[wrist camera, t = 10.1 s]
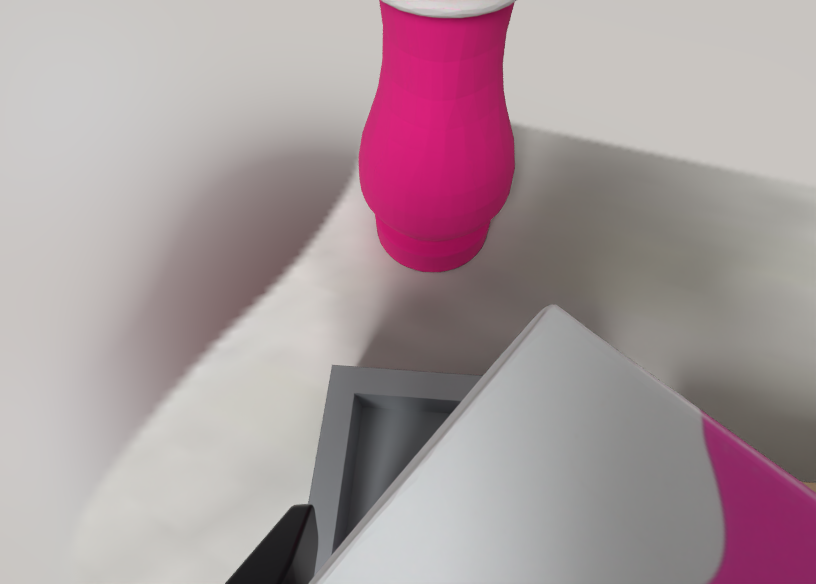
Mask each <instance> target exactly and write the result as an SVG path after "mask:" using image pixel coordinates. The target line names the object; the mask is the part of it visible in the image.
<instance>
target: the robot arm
mask: <svg viewBox="0 0 816 584" xmlns="http://www.w3.org/2000/svg"><path fill="white" fill-rule="evenodd" d="M317 552H318V529H317V522H316V514H315V508H314V506H313V505H312V504H301V505H294V506H292V507H291V508H290V509H289V510H288V511H287V512H286V514H285V515H284V516H283V517H282V518H281V519H280V521H279V522H278V523H277V524H276V525H275V526H274V528H273V529H272V530H271V531H270V532H269V533H268V534H267V536H266V537H265V538H264V539H263V540H262V541H261V543H260V544H259V545H258V546H257V547H256V548H255V550H254V551H253V552H252V553H251V554H250V555H249V556H248V558H247V559H246V560H245V561H244V562H243V563H242V565H241V566H240V567H239V568H238V569H237V570H236V572H235V573H234V574H233V575H232V576H231V577H230V578H229V580H228V581H227V582H226V583H225V584H308V583H309V582H310V581H311V580H312V579H313V577H314V573H315V566H316V559H317Z"/></svg>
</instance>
